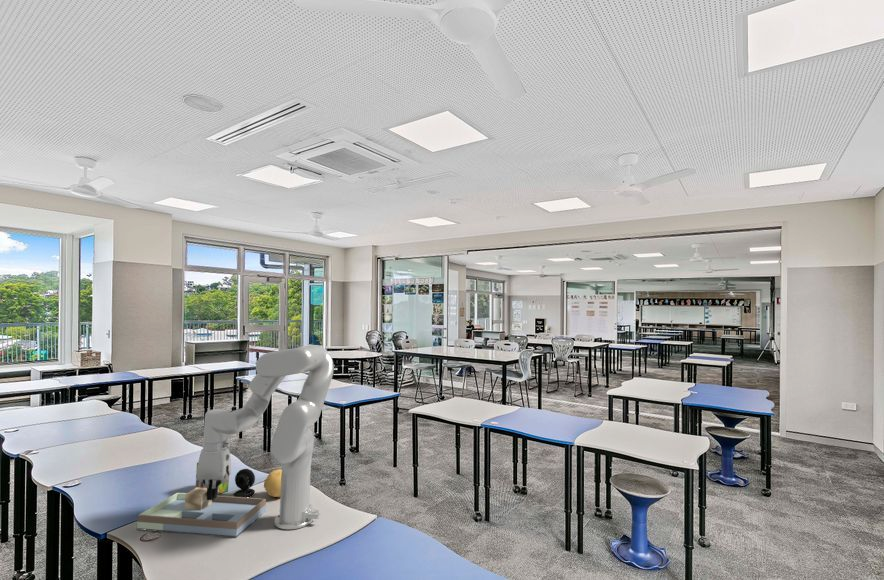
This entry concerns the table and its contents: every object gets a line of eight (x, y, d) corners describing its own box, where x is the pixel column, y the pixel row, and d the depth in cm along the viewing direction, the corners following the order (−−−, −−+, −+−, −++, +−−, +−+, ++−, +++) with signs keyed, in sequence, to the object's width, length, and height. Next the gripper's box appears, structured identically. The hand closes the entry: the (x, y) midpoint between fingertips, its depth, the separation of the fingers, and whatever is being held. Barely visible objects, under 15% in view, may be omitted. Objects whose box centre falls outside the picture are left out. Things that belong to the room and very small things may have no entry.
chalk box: (205, 499, 163) (207, 459, 164) (194, 492, 168) (196, 453, 169) (229, 491, 170) (231, 453, 171) (218, 485, 176) (220, 448, 176)
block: (211, 502, 154) (212, 488, 154) (200, 510, 148) (201, 495, 148) (196, 501, 155) (196, 487, 155) (184, 509, 149) (185, 494, 149)
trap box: (265, 511, 153) (265, 498, 154) (236, 537, 135) (237, 522, 136) (176, 505, 157) (177, 492, 157) (136, 529, 139) (137, 515, 139)
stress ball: (275, 492, 172) (256, 480, 167) (293, 472, 175) (275, 459, 170) (280, 506, 163) (260, 494, 159) (299, 484, 166) (280, 472, 162)
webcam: (228, 498, 164) (230, 471, 164) (240, 490, 171) (241, 464, 172) (248, 500, 163) (249, 473, 163) (258, 492, 170) (260, 466, 171)
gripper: (241, 443, 155) (238, 495, 154) (202, 441, 156) (199, 492, 155) (228, 450, 147) (225, 505, 146) (188, 447, 149) (184, 501, 148)
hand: (211, 498), depth 151 cm, fingers closed
